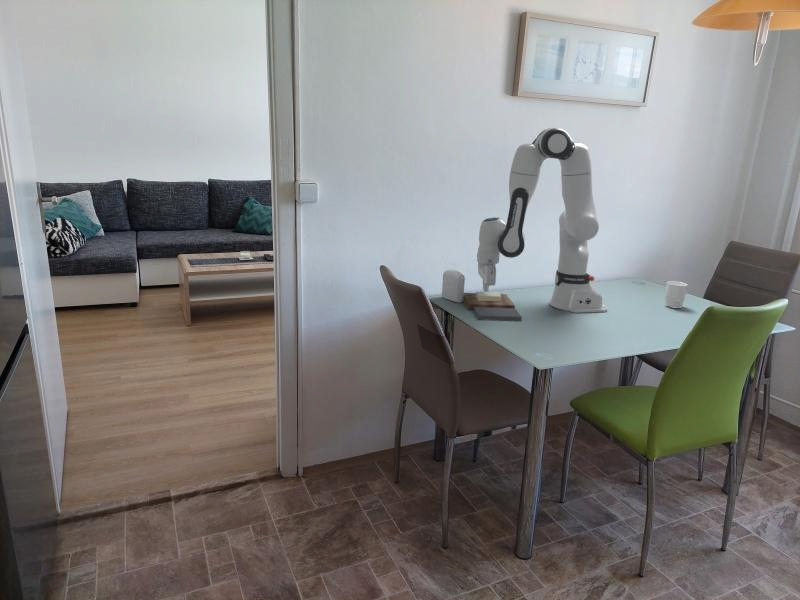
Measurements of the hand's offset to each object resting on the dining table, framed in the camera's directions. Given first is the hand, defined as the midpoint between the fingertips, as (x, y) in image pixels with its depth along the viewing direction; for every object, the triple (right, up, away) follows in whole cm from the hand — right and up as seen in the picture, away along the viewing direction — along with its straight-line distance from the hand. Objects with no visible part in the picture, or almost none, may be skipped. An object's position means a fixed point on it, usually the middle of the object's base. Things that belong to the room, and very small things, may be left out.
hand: (485, 290), depth 238 cm
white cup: (+79, -7, +4) cm, 79 cm away
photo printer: (-14, -4, -1) cm, 14 cm away
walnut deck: (0, -6, -6) cm, 8 cm away
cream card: (0, -3, -7) cm, 8 cm away
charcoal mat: (+2, -10, -19) cm, 21 cm away
